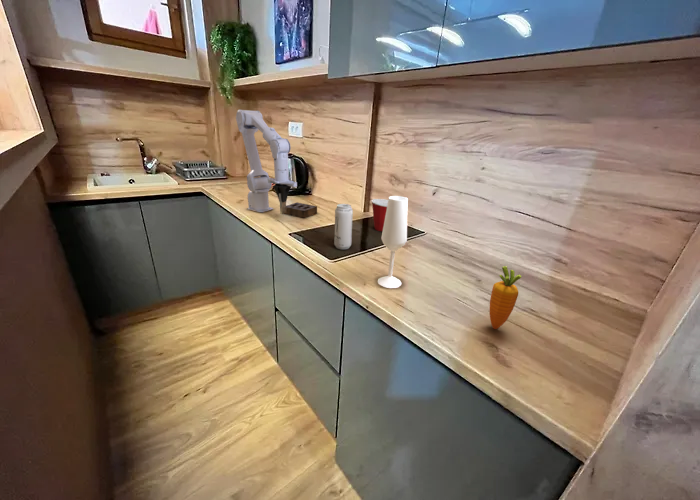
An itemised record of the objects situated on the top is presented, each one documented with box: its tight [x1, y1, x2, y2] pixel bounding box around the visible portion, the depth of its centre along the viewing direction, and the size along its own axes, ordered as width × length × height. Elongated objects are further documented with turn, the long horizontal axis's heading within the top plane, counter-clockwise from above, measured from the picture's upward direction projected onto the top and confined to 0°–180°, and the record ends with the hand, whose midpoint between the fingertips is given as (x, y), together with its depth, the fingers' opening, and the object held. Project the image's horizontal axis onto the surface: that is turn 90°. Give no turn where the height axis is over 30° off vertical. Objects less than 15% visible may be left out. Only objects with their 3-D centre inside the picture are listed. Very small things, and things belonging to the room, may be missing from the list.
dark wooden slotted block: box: [284, 201, 318, 219], centre depth 143 cm, size 12×10×4 cm
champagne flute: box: [377, 195, 409, 289], centre depth 81 cm, size 7×7×24 cm
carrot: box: [489, 265, 522, 330], centre depth 65 cm, size 5×5×15 cm
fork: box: [278, 193, 287, 215], centre depth 132 cm, size 1×4×9 cm, turn 151°
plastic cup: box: [370, 198, 388, 232], centre depth 125 cm, size 11×11×12 cm
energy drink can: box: [333, 203, 354, 250], centre depth 105 cm, size 6×6×15 cm
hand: (282, 201), depth 132 cm, fingers closed on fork, 1 cm apart
